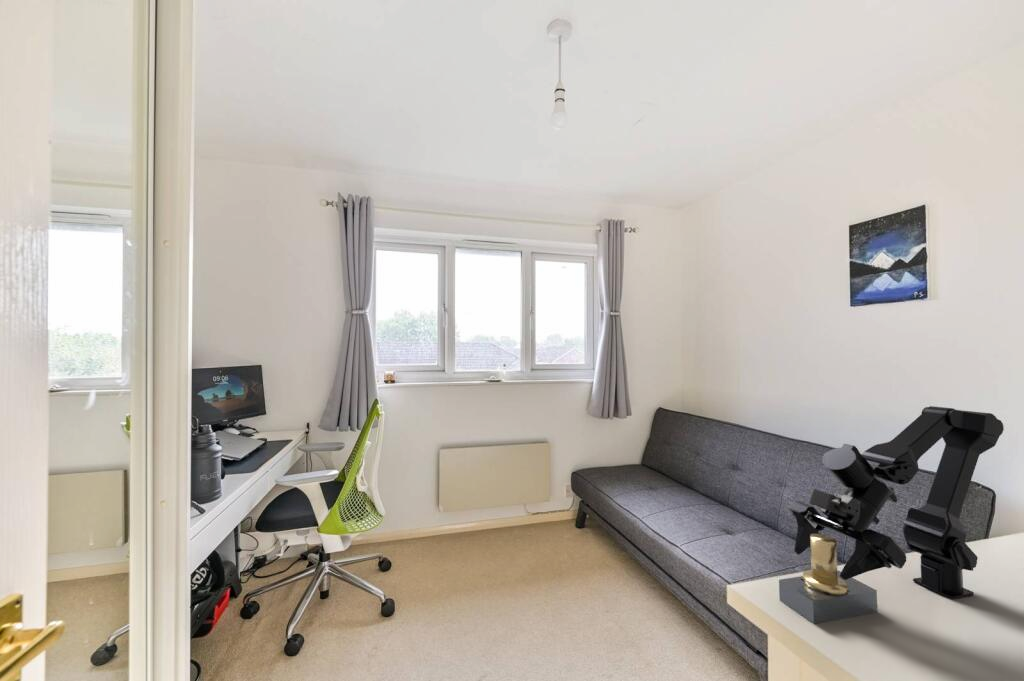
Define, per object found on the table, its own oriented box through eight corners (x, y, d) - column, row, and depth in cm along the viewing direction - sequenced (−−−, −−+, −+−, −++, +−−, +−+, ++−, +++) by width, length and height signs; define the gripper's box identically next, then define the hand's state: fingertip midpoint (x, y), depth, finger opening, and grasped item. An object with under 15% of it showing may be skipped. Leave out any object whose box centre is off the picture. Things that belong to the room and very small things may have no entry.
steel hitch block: (839, 590, 80) (838, 570, 81) (877, 611, 74) (876, 590, 74) (779, 600, 77) (778, 579, 77) (813, 623, 70) (812, 601, 71)
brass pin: (831, 596, 78) (828, 530, 79) (858, 618, 72) (855, 547, 72) (795, 594, 79) (793, 529, 80) (819, 617, 72) (816, 545, 73)
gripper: (793, 463, 86) (753, 518, 84) (890, 491, 68) (842, 563, 65) (824, 496, 87) (785, 551, 85) (927, 533, 69) (881, 604, 67)
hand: (817, 564), depth 75 cm, fingers open, 9 cm apart
